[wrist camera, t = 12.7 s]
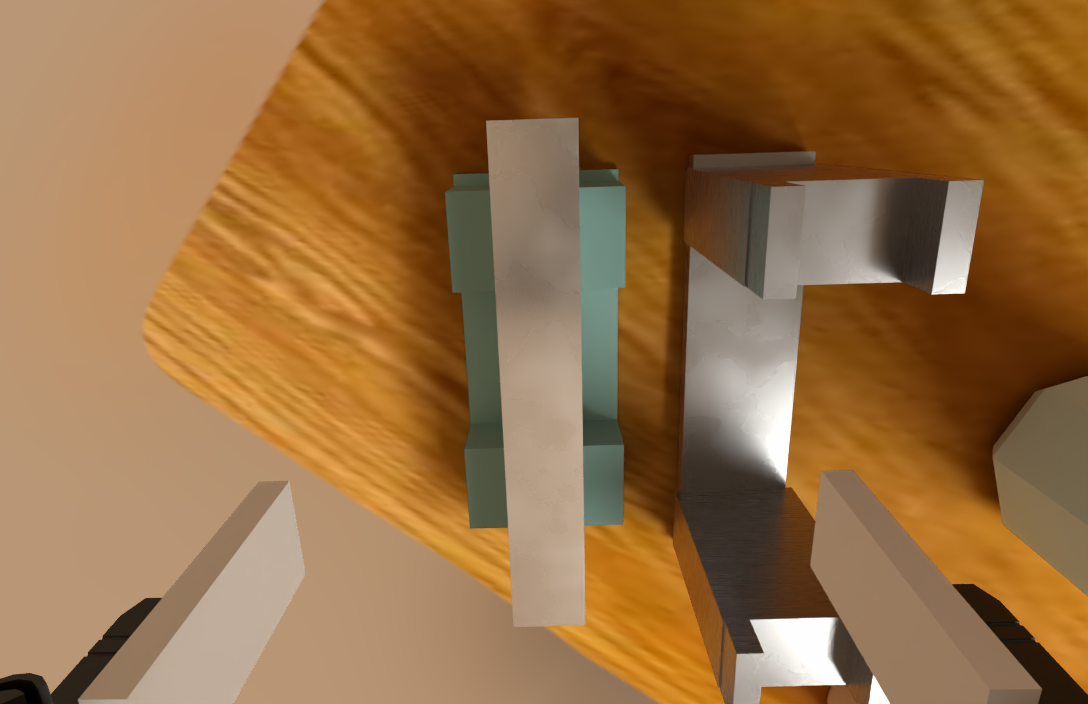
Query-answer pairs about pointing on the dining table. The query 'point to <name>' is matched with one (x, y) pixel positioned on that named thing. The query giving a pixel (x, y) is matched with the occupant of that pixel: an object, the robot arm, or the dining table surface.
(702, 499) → the stand
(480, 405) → the rest
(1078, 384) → the water bottle
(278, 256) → the dining table surface
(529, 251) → the rail
